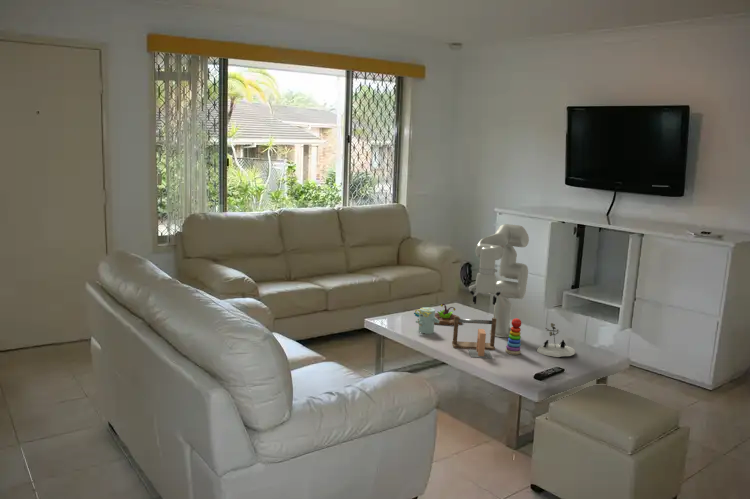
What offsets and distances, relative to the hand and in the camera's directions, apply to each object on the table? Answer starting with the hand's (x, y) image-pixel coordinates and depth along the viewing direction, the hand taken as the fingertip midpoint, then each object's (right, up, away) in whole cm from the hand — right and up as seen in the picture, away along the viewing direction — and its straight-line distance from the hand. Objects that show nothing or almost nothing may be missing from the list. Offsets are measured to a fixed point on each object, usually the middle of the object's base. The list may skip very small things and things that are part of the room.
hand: (484, 303), depth 326 cm
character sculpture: (-28, -20, +38) cm, 51 cm away
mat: (-1, -27, +4) cm, 27 cm away
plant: (-14, -16, +63) cm, 67 cm away
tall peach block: (-1, -26, +4) cm, 27 cm away
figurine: (+40, -27, +14) cm, 51 cm away
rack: (-3, -24, +16) cm, 29 cm away
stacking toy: (+17, -27, +9) cm, 33 cm away
